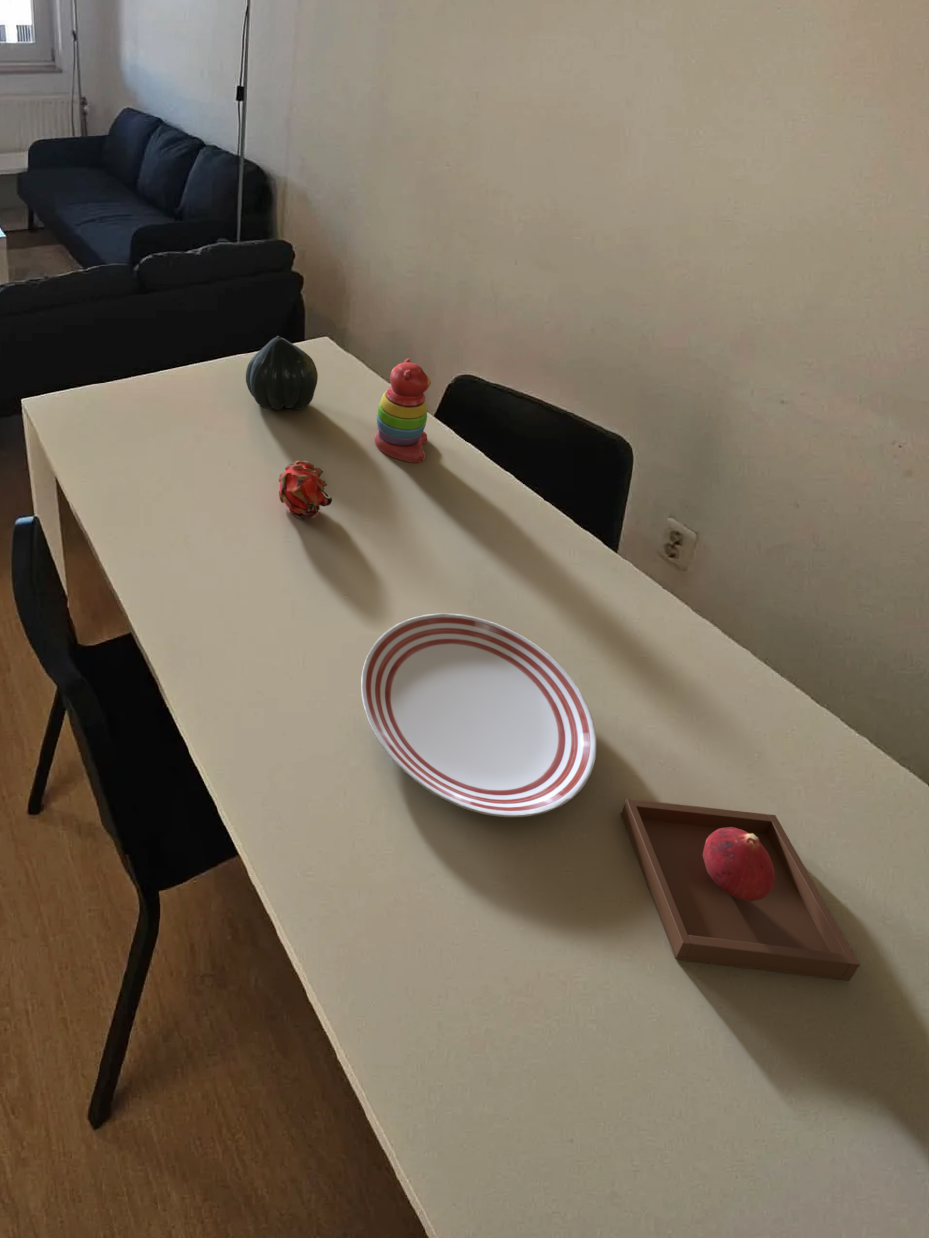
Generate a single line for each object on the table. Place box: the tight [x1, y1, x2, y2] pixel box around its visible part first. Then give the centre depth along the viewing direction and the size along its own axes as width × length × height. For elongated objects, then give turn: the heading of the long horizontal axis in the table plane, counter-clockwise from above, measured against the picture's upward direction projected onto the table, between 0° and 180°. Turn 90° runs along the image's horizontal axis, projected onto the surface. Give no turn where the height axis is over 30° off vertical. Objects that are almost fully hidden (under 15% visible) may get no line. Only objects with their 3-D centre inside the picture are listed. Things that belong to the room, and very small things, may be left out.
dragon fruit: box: [278, 459, 333, 521], centre depth 128 cm, size 8×8×12 cm
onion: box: [703, 827, 774, 901], centre depth 75 cm, size 6×6×8 cm
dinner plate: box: [360, 613, 598, 818], centre depth 93 cm, size 27×27×3 cm
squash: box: [245, 335, 319, 410], centre depth 160 cm, size 14×15×15 cm
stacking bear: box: [374, 358, 432, 464], centre depth 145 cm, size 11×10×18 cm
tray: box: [620, 798, 861, 981], centre depth 76 cm, size 16×14×3 cm
